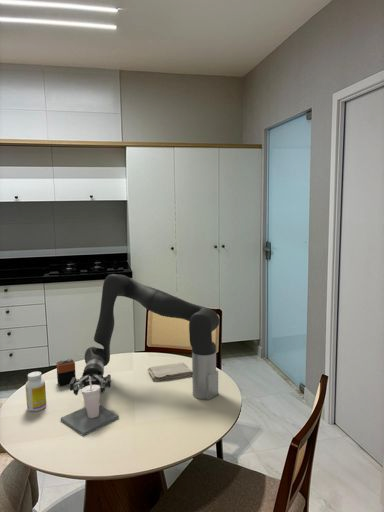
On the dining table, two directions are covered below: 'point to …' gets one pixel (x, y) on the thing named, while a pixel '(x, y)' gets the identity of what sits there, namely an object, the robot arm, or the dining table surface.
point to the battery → (65, 372)
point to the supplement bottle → (35, 392)
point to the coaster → (88, 420)
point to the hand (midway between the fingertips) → (88, 391)
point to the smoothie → (91, 399)
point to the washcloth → (169, 372)
